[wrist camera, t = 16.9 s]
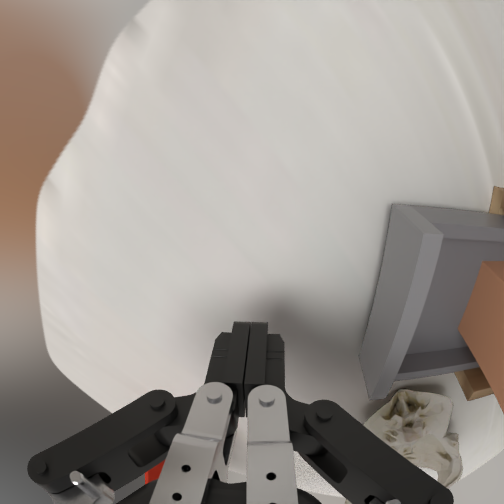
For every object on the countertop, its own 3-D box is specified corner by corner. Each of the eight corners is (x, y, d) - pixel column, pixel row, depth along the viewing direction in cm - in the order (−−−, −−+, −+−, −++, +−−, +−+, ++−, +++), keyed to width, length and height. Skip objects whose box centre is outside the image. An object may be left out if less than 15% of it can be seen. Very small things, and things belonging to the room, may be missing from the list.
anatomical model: (349, 530, 25) (322, 503, 14) (344, 479, 33) (315, 405, 23) (451, 500, 22) (514, 434, 11) (439, 451, 30) (474, 353, 19)
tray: (391, 203, 13) (423, 233, 10) (544, 221, 12) (577, 244, 9) (358, 356, 18) (369, 400, 15) (499, 339, 17) (518, 370, 14)
